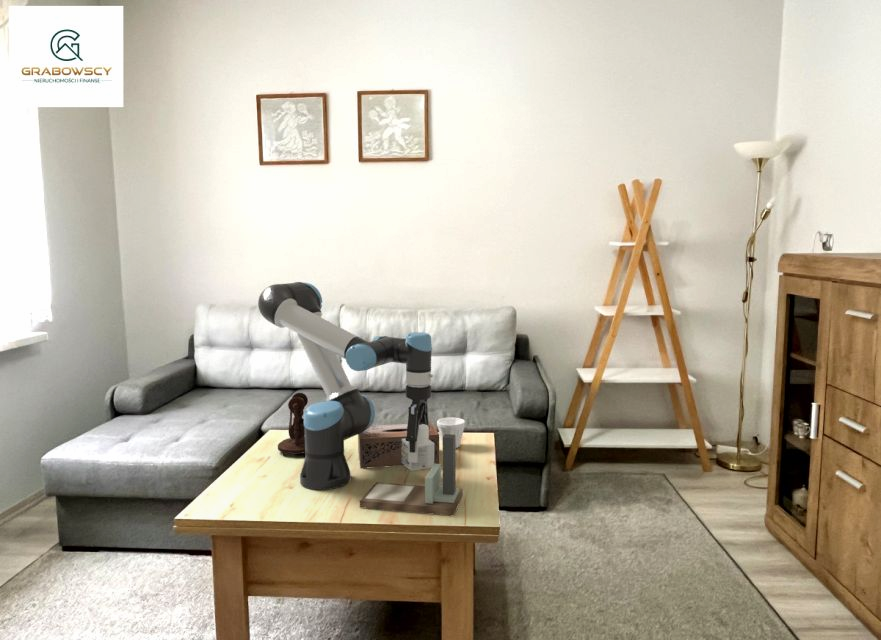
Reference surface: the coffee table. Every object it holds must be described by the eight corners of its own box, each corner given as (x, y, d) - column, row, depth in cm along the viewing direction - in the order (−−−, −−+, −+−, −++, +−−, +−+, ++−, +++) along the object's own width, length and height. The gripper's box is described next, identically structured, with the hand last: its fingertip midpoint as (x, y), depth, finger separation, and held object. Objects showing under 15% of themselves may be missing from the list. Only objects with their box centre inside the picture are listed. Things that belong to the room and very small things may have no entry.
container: (401, 462, 195) (401, 421, 193) (424, 459, 198) (424, 419, 196) (410, 471, 188) (411, 428, 186) (434, 467, 191) (435, 425, 189)
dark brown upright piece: (282, 444, 228) (280, 390, 226) (323, 443, 229) (322, 389, 227) (274, 458, 214) (271, 400, 211) (318, 457, 215) (316, 399, 212)
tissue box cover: (432, 450, 222) (432, 422, 221) (439, 464, 208) (439, 434, 207) (358, 454, 218) (357, 426, 217) (360, 469, 204) (359, 438, 203)
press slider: (425, 503, 170) (424, 440, 168) (434, 487, 181) (433, 429, 179) (452, 505, 169) (452, 442, 167) (460, 489, 179) (459, 430, 177)
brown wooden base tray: (359, 507, 173) (359, 500, 173) (375, 488, 187) (375, 481, 186) (453, 515, 167) (453, 507, 167) (462, 495, 181) (462, 488, 181)
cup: (436, 450, 221) (436, 425, 219) (437, 442, 230) (437, 417, 229) (465, 451, 220) (465, 425, 219) (465, 442, 230) (465, 417, 229)
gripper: (421, 394, 178) (420, 470, 180) (439, 377, 200) (437, 445, 203) (395, 392, 179) (395, 467, 182) (416, 375, 201) (415, 443, 204)
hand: (417, 455), depth 192 cm, fingers closed on container, 10 cm apart
